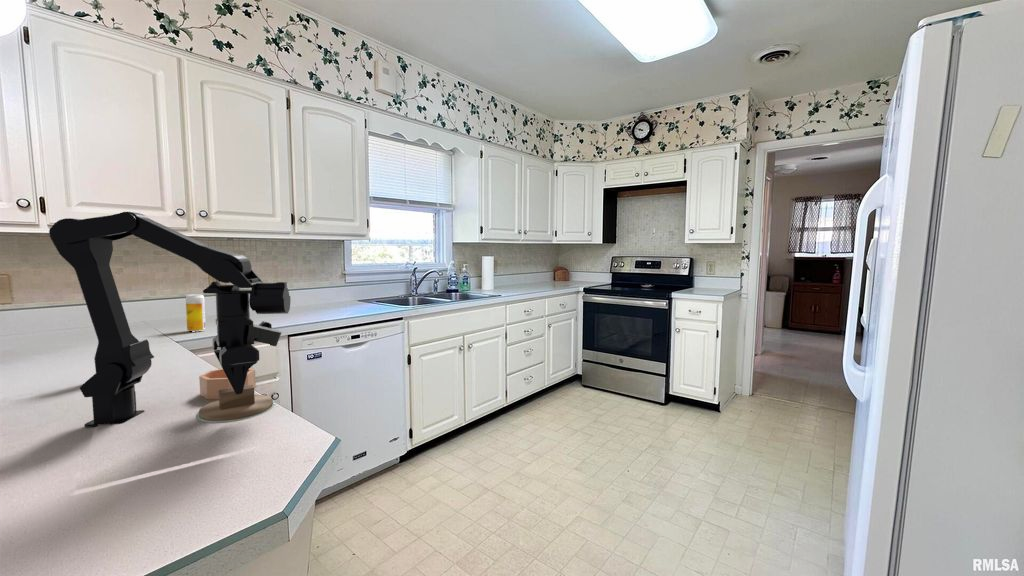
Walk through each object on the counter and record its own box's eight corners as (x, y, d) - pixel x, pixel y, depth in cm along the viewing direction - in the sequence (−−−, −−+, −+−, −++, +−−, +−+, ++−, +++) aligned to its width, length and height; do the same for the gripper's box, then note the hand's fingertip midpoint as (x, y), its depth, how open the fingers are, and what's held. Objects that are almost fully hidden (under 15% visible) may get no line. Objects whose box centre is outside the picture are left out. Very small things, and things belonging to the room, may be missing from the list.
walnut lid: (278, 410, 87) (278, 390, 87) (201, 426, 79) (200, 404, 78) (266, 394, 97) (265, 376, 97) (196, 406, 89) (195, 387, 88)
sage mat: (259, 422, 82) (259, 420, 82) (180, 426, 80) (180, 424, 80) (285, 398, 96) (285, 396, 96) (217, 400, 93) (217, 398, 93)
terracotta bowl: (242, 399, 94) (241, 378, 94) (192, 401, 93) (191, 380, 92) (260, 385, 104) (260, 366, 104) (216, 387, 102) (215, 367, 102)
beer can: (189, 330, 172) (187, 294, 171) (207, 329, 175) (205, 294, 174) (185, 332, 167) (183, 295, 166) (203, 331, 170) (202, 295, 168)
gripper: (287, 317, 84) (288, 392, 86) (268, 307, 98) (270, 371, 100) (220, 322, 77) (223, 403, 78) (210, 310, 91) (213, 379, 93)
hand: (235, 387), depth 87 cm, fingers open, 9 cm apart
